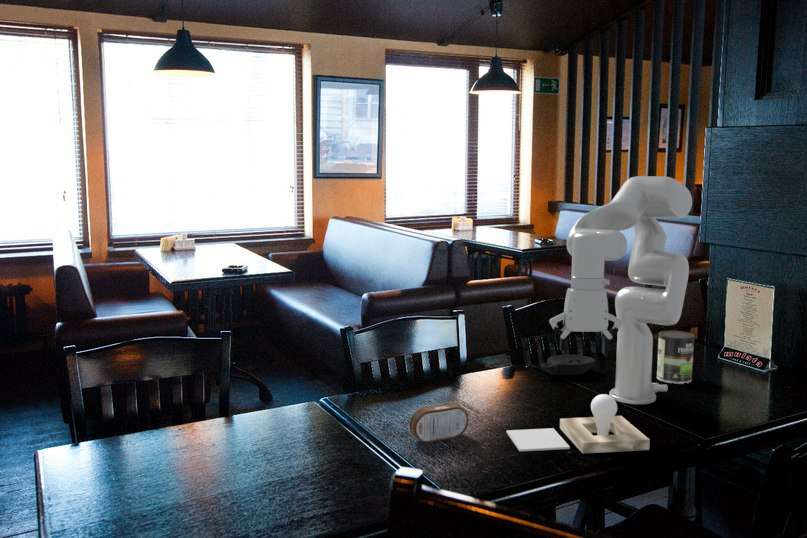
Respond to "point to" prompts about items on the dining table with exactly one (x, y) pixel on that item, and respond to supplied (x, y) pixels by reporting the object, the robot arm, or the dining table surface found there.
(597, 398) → the lightbulb
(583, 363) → the oil lamp
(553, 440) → the rubber mat
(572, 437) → the plate
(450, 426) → the tin
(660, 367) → the coffee can
